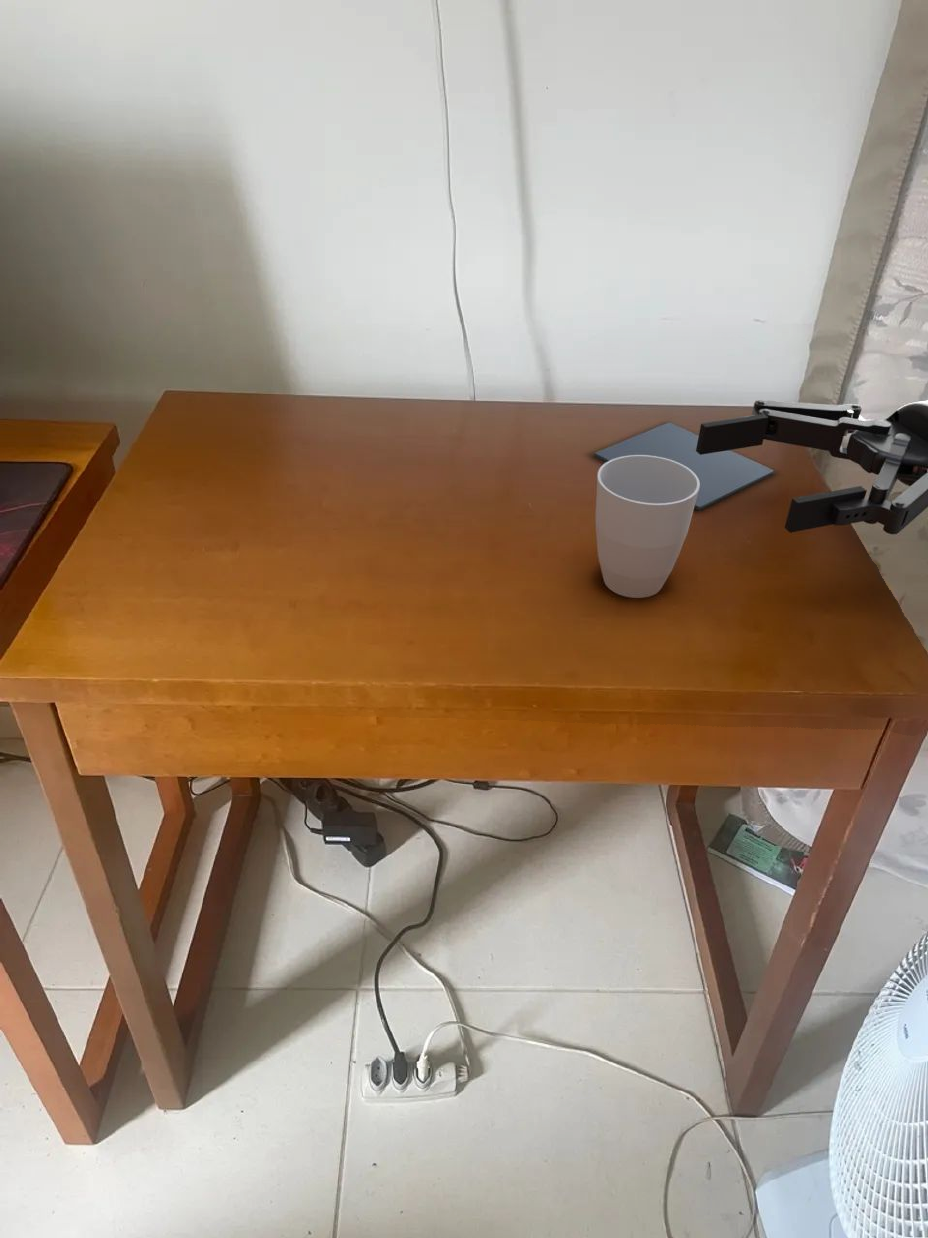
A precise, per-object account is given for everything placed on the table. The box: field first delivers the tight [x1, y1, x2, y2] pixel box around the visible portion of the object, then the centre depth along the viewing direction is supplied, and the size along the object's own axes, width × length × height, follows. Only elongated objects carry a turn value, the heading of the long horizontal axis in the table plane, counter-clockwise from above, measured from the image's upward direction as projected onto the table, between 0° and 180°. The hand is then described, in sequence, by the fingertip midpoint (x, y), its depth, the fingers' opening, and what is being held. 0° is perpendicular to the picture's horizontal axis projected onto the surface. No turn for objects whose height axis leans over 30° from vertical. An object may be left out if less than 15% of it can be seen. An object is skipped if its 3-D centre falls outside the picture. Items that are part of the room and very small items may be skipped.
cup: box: [594, 455, 700, 599], centre depth 82 cm, size 8×8×10 cm
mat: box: [593, 422, 775, 511], centre depth 102 cm, size 14×12×1 cm
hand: (742, 475), depth 82 cm, fingers open, 13 cm apart
